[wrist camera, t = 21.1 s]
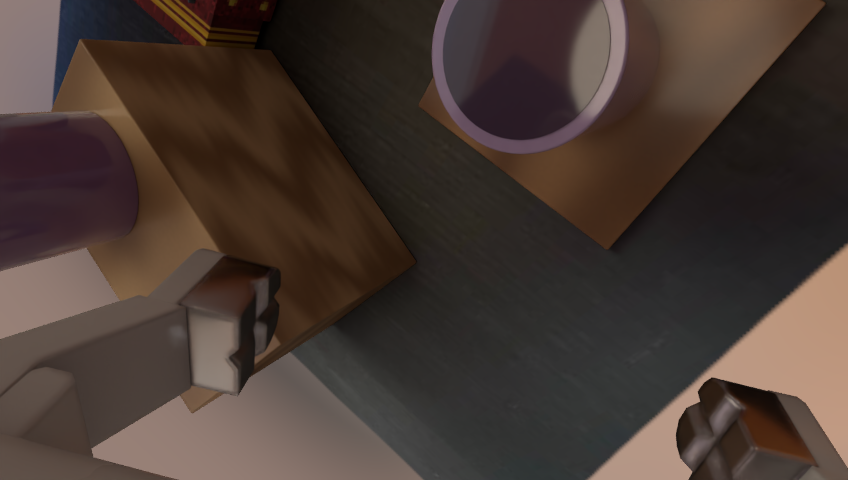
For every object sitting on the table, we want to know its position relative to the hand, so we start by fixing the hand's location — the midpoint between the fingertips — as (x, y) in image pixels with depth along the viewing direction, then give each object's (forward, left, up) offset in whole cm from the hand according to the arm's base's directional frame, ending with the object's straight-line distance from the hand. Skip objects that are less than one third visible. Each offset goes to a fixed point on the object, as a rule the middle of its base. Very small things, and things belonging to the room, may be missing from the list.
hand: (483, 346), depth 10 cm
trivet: (+6, +1, -18) cm, 19 cm away
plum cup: (+5, +23, -6) cm, 25 cm away
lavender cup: (+6, +1, -18) cm, 19 cm away
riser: (+2, +21, -18) cm, 28 cm away
